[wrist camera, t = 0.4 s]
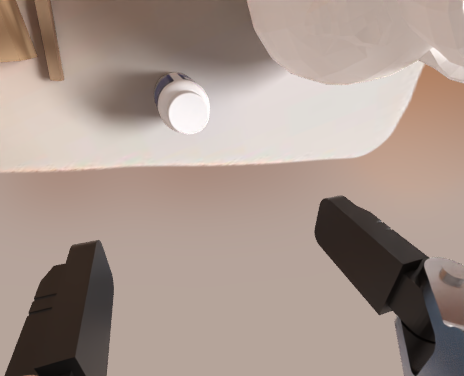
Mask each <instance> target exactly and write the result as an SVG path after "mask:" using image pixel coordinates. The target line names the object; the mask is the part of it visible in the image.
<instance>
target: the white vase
mask: <svg viewBox="0 0 464 376" xmlns="http://www.w3.org/2000/svg"><path fill="white" fill-rule="evenodd" d="M247 4H248V8H249V11H250V15H251V19H252V23H253V27H254V30H255V32H256V34H257V35H258V37H259V39H260V40H261V42H262V43H263V45H264V47H265V48H266V50H267V52H268V53H269V55H270V57H271V58H272V59H273V60H274V61H275V62H277V63H278V64H279V65H281V66H282V67H283V68H285V69H286V70H287V71H288V72H290V73H291V74H294V75H297V76H300V77H303V78H306V79H309V80H313V81H316V82H320V83H323V84H327V85H349V84H355V83H361V82H367V81H372V80H376V79H379V78H383V77H387V76H390V75H393V74H395V73H396V72H398V71H400V70H402V69H404V68H406V67H408V66H409V65H411V64H413V63H415V62H417V61H421V62H423V63H425V64H427V65H429V66H431V67H433V68H435V69H436V70H437V71H439V72H440V73H442V74H443V75H444V76H446V77H448V79H451V80H454V81H458V82H461V83H464V0H247Z"/></svg>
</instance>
